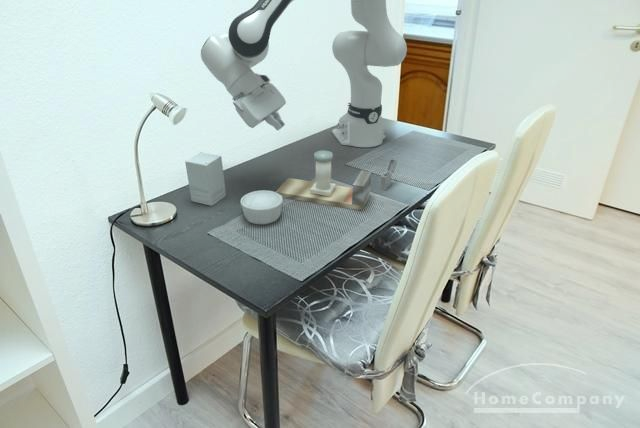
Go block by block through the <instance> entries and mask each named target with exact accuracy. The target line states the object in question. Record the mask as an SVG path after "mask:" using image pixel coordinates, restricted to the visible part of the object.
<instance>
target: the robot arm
mask: <svg viewBox="0 0 640 428" xmlns="http://www.w3.org/2000/svg"><path fill="white" fill-rule="evenodd" d="M294 1H295V0H258V1H257V2H256V3H255V4H253V6H252V7H251V8H249V9H248V10H247V11H244V12H242V13H241V14H239V15H238V16H236V17H235V18H234V19H233V20H232V21H231V23H230V25H229V28H228V32H226V33H215V34H214V33H213V34H212V35H211V36H209V37H208V38H207V39H206V41H205V42H204V43H203V45H202V47H201V49H200V58H201V60H202V62H203V64H204V65H205V68H207V70H209V72H210V73H211V74H212V76H213V77H214V78H215V79H216V80H217V81H218V82H220V83H221V84H223V85H224V87H225V89H226V91H227V93H228V94H229V95H231V96H232V105H234V109H235V111H236V112H237V114H238V115H239V117H240V118H241V120H242V121H243V122H244V123H245V124H246V125H247V126H248V128H251V129H253V128H255V127H256V126H259V125H260V124H261V123H262V122H264V121H265V122H266V124H268V125H270V126H271V127H273V128H274V129H275V130H276V131H279V130H281V129H282V128H283V127H284V126H285V125H286V124H285V122H284V120H282V118H281V115H280V113H279V111H280V110H281V109H282V108H283V106H285V105H286V103H287V102H286V99H285V97H284V95H283V94H282V93H281V92H280V90H279V89H278V88H277V87H276V86H275V85H274V84H273V83H271V78H269V77H268V75H266V74H259V73H255V72H254V70H253V69H252V68H253V67H255V66H256V65H258V64H260V63H261V62H263V60H265V59H266V57H267V55H268V53H269V49H270V47H269V45H270V44H269V40H270V36H271V31H272V28H273V27H274V25H275V23H276V22H277V21H278V20H279V18H280V17H281V15H282V14H283V13H284V12H285V10H286V9H287V8H288V6H289V5H290V4H291V3H292V2H294ZM350 11H351V15H352V19H354V21H355V22H356V23H357V24H359V25H361V26H362V27H364V29H365V31H363V30H347V31H340V32H338V33H337V34H336V35H335V37H334V39H333V41H332V45H331V46H332V47H331V50H332V54H333V56H334V58H335V60H337V62H339V64H340V65H341V66H342V67H343V68H344V69H345V71H346V74H347V75H348V78H349V79H348V80H349V83H350V84H349V85H350V102H348V103H347V107H348V108H347V112H346V113H345V114H344V115H342V116H341V117H340V118H339V119H338V122H337V127H336V128H333V129H332V130H331V133H332V134H333V136H334V137H335V139H337V141H338V142H339V143H340V144H341V145H342V146H352V147H356V148H374V147H377V146H380V145H382V143H383V141H384V140H385V139H386V135H385V134H384V118H383V117H382V111H383V105H382V95H383V84H382V81H381V80H380V79H379V77H377V76H375V75H373V74H372V73H371V72H370V70H369V68H368V66H370V67H382V68H388V67H396V66H400V65H401V63H403V61H404V60H405V58H406V56H407V51H408V47H407V42H406V40H405V37H404V36H402V35H401V34H400V33H399V32H397V31H396V29H395V28H394V27H393V25H392V23H391V21H390V19H389V17H388V11H387V0H350Z"/></svg>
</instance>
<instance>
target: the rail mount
mask: <svg viewBox="0 0 640 428" xmlns="http://www.w3.org/2000/svg"><path fill="white" fill-rule="evenodd" d="M315 182H316V181H310V180H304V179H297V178H292V177H287V178H286V180H285V181H283V183H282V184H281V185H280V186H279V188H277V189H276V191H275V192H276V193H278V194H280V195H281V196H282V198H283V199H288V198H290V199H289V200H294V199H296V201H300V200H301V201H302V202H308V203H314V204H320V205H324V206H325V205H326V206H331V207H338V208H344V209H351V210H354V211H355V210H356V211H363V209H365V205H366V203H367V202H368V200H369V198H370V196H371V186H372V184H371V183H372V171H369V170H360V172H359V174H358V175H357V177H356V178H355V181H354V182H353V183H352V187H351V186H344V185H339V184H336V188H335V189H334V191H333V192H332V194H331V195H330V196H325V195H319V194H312V193H310V189H311V188H312V186H313V185H314V184H315ZM301 201H300V202H301Z"/></svg>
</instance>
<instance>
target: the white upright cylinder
mask: <svg viewBox="0 0 640 428" xmlns="http://www.w3.org/2000/svg"><path fill="white" fill-rule="evenodd" d="M313 155H314V156H313V158H314V159H313V160H314V161H315V181H314V182H315V184H314V185H313V186H312V188H311V189H310V193H312V194H319V195H325V196H330V195H331V194H332V192H333V191H334V189H335V188H336V185H337V184H336V183H333V182H332V160H333V159H334V158H333V157H334V154H333V152H332V151H329V150H318V151H315V152H314V153H313Z"/></svg>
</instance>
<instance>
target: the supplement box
mask: <svg viewBox="0 0 640 428" xmlns="http://www.w3.org/2000/svg"><path fill="white" fill-rule="evenodd" d="M222 159H223V158H222V155H219V154H218V155H217V154H211V153H207V152H202V151H201V152H199V153H197V154H195V155H194V156H192V157H191V158H188V159H186V160H185V161H184V162H185V169H186V175H187V180H188V181H187V182H188V186H189V194H190V198H191V199H190V200H191V202H192V203H193V202H194V203H199V204H201V205H206V206H211V207H212V206H214V205H215V204H217V203H218V202H219V201H220V200H222V199H223V198H225V197H226V196H227V192H226V184H225V183H226V182H225V175H224V169H223V168H224V167H223V160H222Z"/></svg>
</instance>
